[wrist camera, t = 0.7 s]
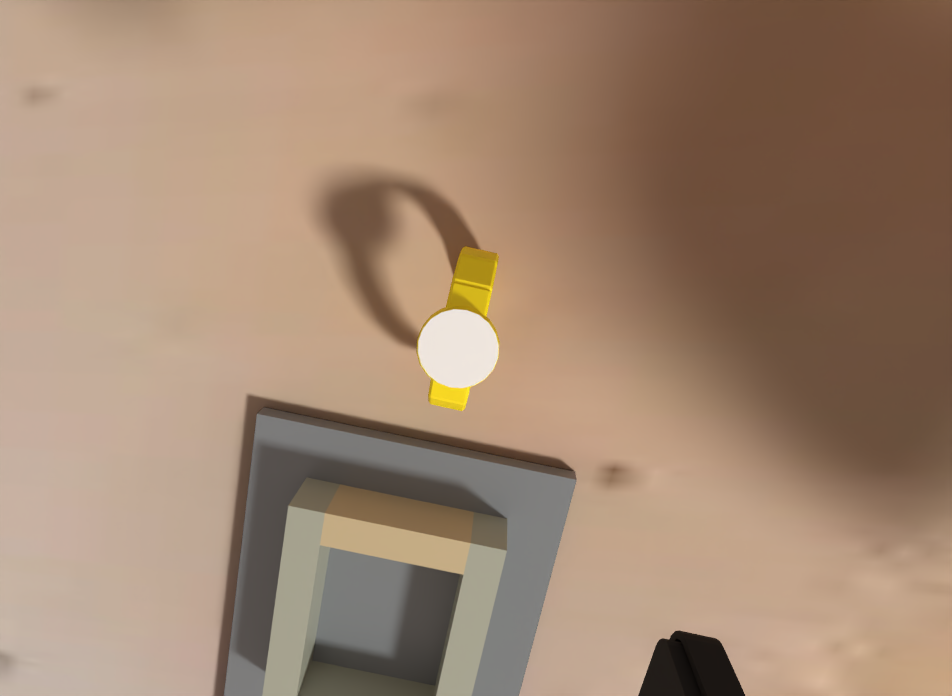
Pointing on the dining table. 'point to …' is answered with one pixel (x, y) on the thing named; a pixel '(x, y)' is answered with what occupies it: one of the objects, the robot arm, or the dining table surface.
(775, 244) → the dining table surface
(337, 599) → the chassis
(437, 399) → the watch
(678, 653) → the robot arm
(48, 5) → the dining table surface
